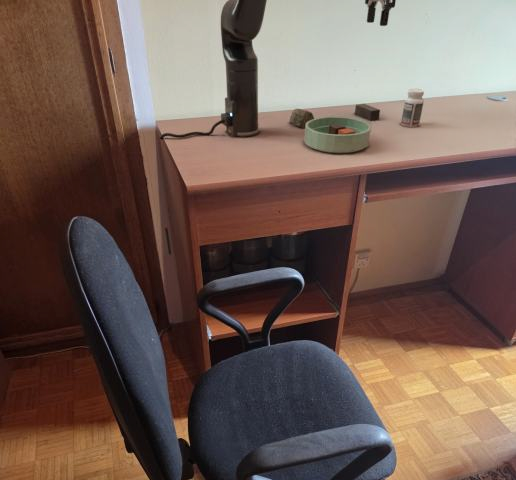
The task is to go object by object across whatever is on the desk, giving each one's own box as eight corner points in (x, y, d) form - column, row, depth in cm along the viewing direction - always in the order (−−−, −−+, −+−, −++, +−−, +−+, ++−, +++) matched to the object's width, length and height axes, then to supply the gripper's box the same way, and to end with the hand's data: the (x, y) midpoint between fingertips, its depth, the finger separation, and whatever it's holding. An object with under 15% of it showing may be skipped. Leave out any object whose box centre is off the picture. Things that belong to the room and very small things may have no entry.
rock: (283, 125, 146) (284, 109, 143) (296, 119, 151) (297, 104, 148) (302, 128, 143) (303, 113, 140) (314, 123, 147) (316, 108, 144)
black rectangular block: (378, 119, 150) (380, 109, 148) (370, 120, 149) (371, 111, 147) (362, 113, 157) (364, 103, 155) (354, 114, 155) (355, 104, 154)
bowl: (325, 158, 122) (327, 139, 119) (293, 139, 135) (293, 121, 131) (381, 148, 128) (384, 129, 125) (345, 131, 141) (347, 113, 137)
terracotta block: (343, 146, 128) (345, 133, 126) (337, 142, 130) (338, 129, 128) (353, 144, 129) (355, 131, 127) (347, 140, 131) (348, 128, 129)
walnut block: (334, 141, 131) (335, 128, 129) (327, 137, 134) (329, 125, 131) (344, 139, 132) (345, 126, 130) (337, 136, 135) (339, 123, 133)
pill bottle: (417, 122, 148) (424, 88, 141) (420, 127, 143) (427, 92, 137) (399, 122, 148) (405, 88, 141) (401, 127, 144) (408, 92, 137)
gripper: (362, -47, 131) (355, 22, 141) (386, -47, 120) (376, 27, 131) (386, -47, 132) (376, 21, 143) (411, -47, 122) (399, 26, 133)
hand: (376, 24), depth 137 cm, fingers open, 8 cm apart
